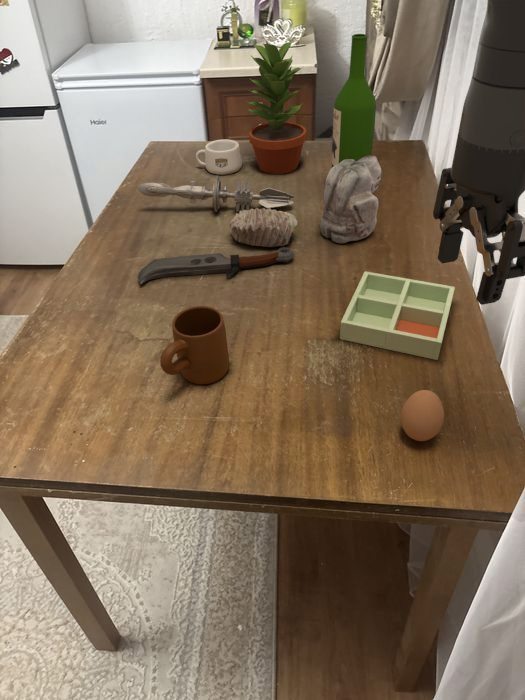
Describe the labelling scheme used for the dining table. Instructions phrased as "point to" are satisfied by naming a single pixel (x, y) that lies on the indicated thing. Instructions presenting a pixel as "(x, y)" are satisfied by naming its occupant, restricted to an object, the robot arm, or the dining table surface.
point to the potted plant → (276, 113)
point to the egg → (422, 415)
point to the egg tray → (398, 314)
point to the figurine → (351, 200)
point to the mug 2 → (221, 157)
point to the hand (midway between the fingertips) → (465, 280)
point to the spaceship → (219, 194)
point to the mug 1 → (197, 346)
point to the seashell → (263, 227)
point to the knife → (209, 264)
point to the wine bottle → (354, 110)
